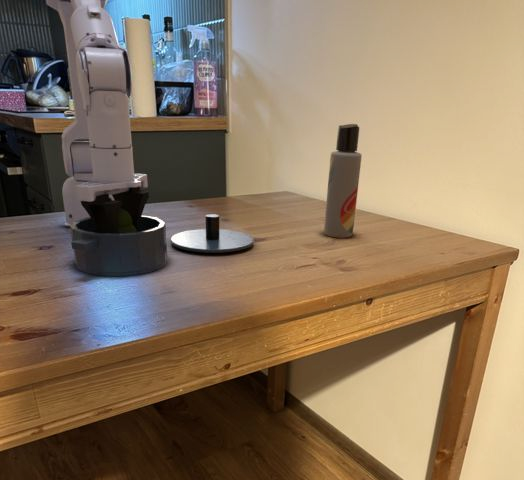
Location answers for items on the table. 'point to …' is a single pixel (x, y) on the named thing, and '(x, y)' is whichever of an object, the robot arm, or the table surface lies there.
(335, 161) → the lotion bottle
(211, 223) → the pot lid
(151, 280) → the table surface
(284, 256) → the table surface
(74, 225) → the pot
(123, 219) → the avocado
